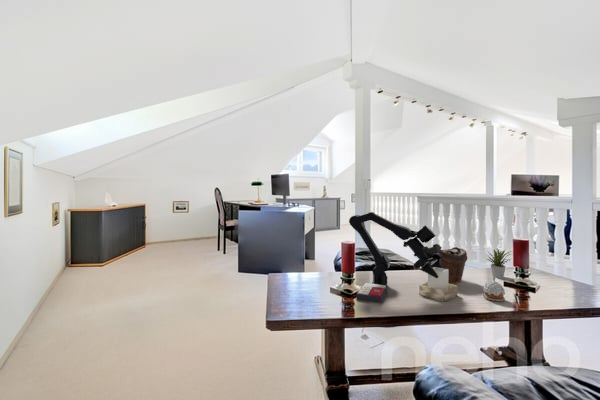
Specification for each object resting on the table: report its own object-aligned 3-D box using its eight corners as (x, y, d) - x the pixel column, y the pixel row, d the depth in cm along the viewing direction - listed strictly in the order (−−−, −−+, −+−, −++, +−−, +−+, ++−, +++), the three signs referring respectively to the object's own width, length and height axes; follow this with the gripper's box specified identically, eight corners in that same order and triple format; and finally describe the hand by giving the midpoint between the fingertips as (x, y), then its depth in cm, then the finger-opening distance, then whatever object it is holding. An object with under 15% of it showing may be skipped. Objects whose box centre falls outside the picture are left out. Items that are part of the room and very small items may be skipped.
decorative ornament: (508, 302, 131) (508, 267, 131) (490, 302, 131) (490, 267, 131) (497, 296, 139) (497, 263, 138) (480, 296, 139) (480, 263, 138)
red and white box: (356, 292, 136) (364, 281, 150) (356, 301, 136) (364, 290, 150) (381, 295, 131) (387, 284, 145) (381, 305, 132) (387, 293, 145)
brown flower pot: (471, 278, 165) (471, 245, 165) (462, 288, 150) (461, 251, 150) (437, 273, 177) (436, 243, 177) (425, 281, 162) (424, 248, 162)
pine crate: (419, 294, 142) (419, 285, 141) (431, 289, 149) (431, 279, 149) (445, 301, 132) (445, 291, 132) (457, 295, 140) (457, 285, 140)
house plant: (522, 279, 163) (523, 249, 162) (501, 281, 160) (501, 250, 159) (500, 272, 176) (500, 244, 176) (479, 274, 174) (480, 246, 173)
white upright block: (427, 290, 141) (427, 269, 141) (434, 287, 145) (434, 266, 145) (441, 294, 136) (442, 272, 136) (448, 291, 140) (448, 269, 140)
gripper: (419, 240, 137) (444, 270, 129) (439, 236, 149) (462, 262, 141) (404, 255, 143) (426, 284, 135) (423, 250, 155) (445, 276, 147)
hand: (441, 276), depth 140 cm, fingers closed on white upright block, 6 cm apart
